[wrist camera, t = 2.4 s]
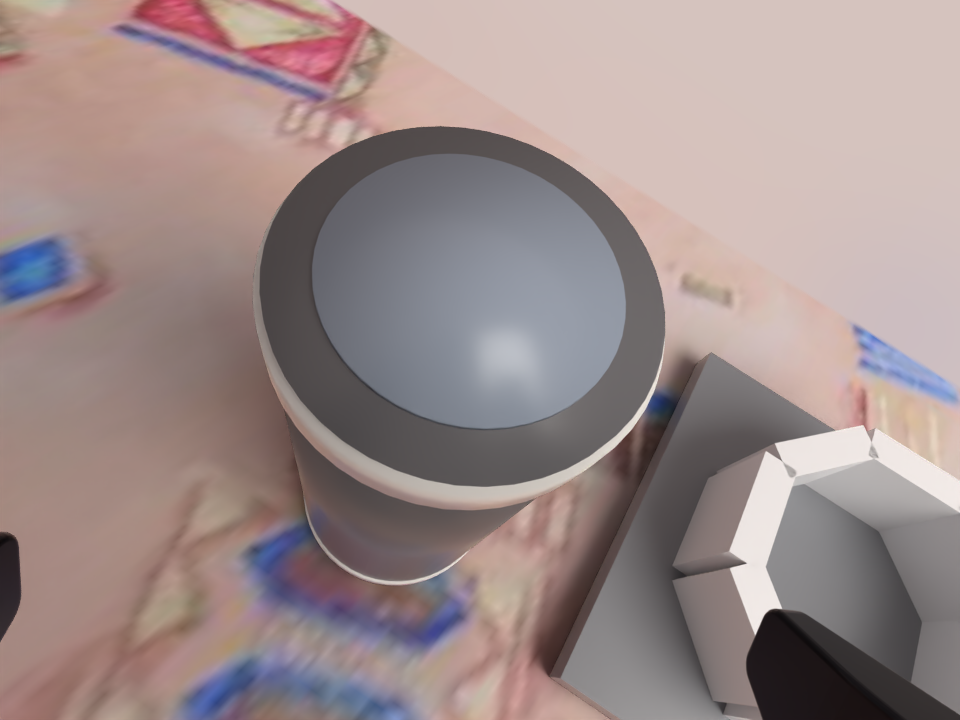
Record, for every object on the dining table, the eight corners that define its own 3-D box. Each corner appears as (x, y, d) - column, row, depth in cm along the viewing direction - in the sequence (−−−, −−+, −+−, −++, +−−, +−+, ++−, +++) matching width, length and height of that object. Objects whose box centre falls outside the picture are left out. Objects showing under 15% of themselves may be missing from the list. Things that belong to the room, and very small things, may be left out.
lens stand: (984, 546, 22) (1109, 526, 18) (929, 936, 16) (1092, 1016, 13) (696, 364, 23) (762, 310, 19) (548, 676, 17) (603, 683, 14)
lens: (518, 524, 19) (754, 355, 8) (361, 629, 17) (399, 593, 6) (426, 381, 20) (524, 76, 9) (270, 462, 18) (170, 189, 7)
